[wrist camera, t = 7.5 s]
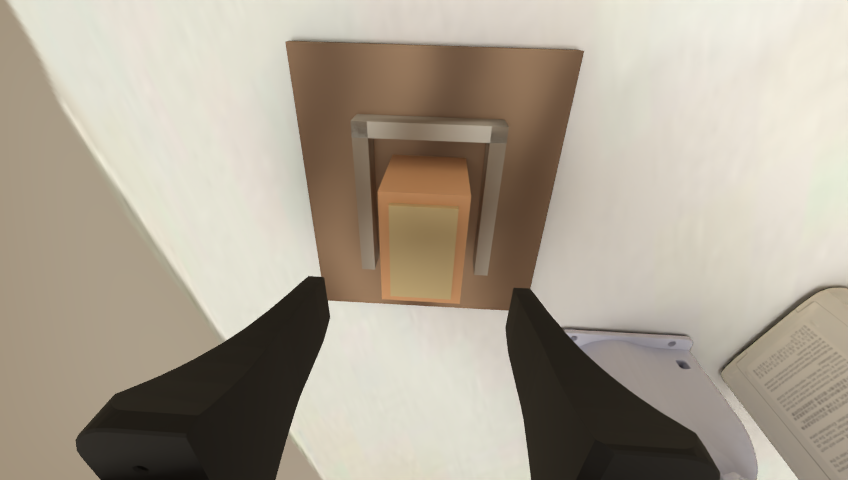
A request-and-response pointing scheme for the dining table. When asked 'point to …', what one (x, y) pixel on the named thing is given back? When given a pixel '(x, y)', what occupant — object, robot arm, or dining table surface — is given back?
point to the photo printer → (801, 386)
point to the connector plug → (423, 228)
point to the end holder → (431, 151)
